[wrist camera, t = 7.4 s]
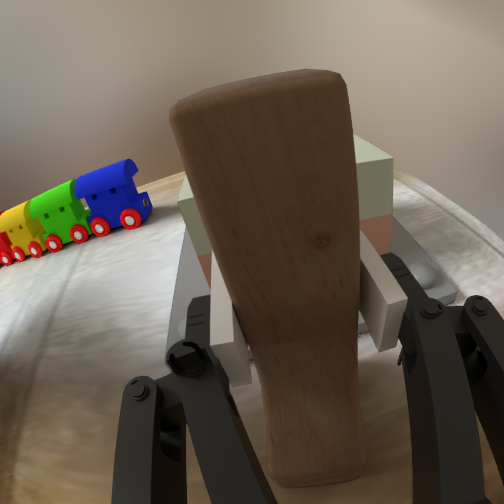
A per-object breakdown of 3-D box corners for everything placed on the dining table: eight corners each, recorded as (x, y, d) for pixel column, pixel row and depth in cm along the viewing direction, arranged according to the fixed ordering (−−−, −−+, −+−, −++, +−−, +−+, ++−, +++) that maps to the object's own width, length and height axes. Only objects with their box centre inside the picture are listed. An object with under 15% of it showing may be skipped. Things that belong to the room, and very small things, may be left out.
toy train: (-13, 276, 46) (-36, 235, 40) (2, 257, 52) (-19, 219, 46) (149, 227, 44) (123, 159, 37) (158, 206, 50) (137, 146, 43)
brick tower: (170, 371, 21) (100, 264, 15) (190, 222, 41) (166, 150, 35) (454, 301, 20) (482, 183, 14) (355, 186, 40) (349, 113, 34)
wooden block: (359, 479, 12) (470, 91, 2) (280, 489, 13) (39, 179, 3) (340, 359, 19) (314, 67, 9) (278, 368, 20) (196, 91, 10)
